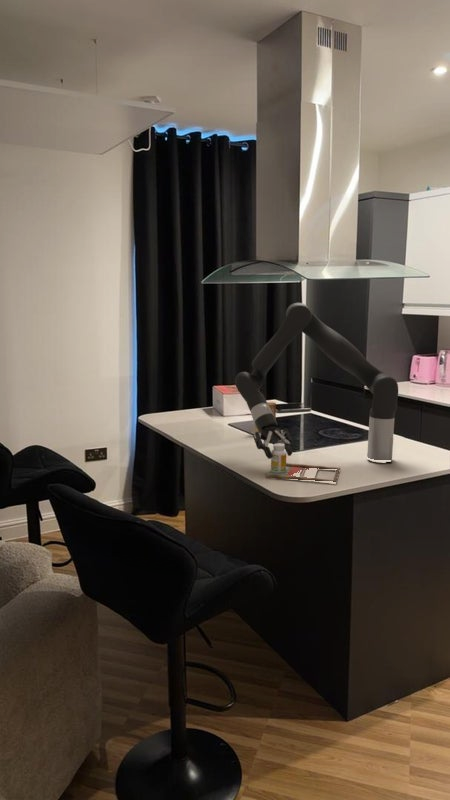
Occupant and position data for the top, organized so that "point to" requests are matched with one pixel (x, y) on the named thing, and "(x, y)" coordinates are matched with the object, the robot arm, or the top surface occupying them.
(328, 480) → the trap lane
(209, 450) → the top surface
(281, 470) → the supplement bottle
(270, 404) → the candy box
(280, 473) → the tile
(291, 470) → the mats
